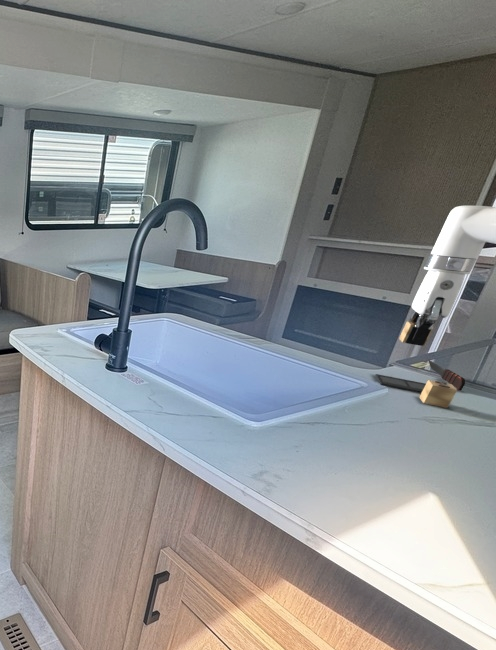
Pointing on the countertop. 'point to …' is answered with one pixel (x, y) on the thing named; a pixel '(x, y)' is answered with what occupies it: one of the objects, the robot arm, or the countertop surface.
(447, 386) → the tile
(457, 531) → the countertop surface
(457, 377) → the knife
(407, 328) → the wooden block
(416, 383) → the word mat
